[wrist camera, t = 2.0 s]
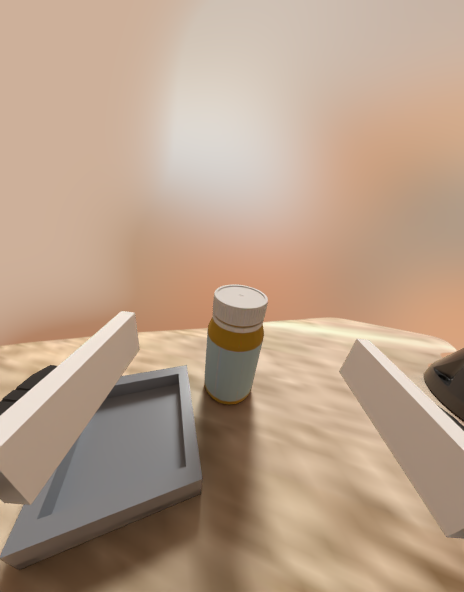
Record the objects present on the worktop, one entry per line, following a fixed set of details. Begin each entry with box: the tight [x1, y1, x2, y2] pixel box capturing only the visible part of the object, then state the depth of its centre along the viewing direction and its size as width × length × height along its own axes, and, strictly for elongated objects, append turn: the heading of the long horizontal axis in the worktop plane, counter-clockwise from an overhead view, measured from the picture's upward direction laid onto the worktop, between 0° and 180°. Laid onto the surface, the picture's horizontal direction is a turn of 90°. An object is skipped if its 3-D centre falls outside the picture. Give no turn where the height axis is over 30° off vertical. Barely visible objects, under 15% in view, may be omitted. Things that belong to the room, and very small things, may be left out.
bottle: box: [205, 285, 268, 404], centre depth 23 cm, size 7×7×15 cm
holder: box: [0, 365, 202, 570], centre depth 19 cm, size 12×12×3 cm
